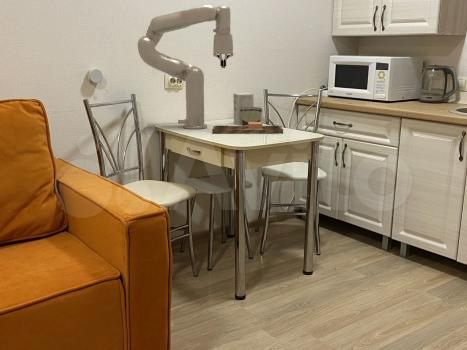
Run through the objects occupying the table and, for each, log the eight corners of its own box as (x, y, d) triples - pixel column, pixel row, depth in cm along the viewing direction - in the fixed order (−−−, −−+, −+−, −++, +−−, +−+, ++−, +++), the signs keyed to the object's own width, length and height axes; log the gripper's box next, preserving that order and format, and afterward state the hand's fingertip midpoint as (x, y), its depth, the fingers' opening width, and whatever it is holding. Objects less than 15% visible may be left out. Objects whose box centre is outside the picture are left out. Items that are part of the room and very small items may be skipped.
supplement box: (249, 122, 295) (249, 92, 291) (254, 124, 286) (254, 93, 282) (233, 122, 293) (233, 92, 289) (237, 125, 284) (237, 94, 280)
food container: (262, 125, 283) (263, 107, 281) (262, 126, 277) (262, 108, 275) (240, 124, 284) (240, 106, 282) (239, 126, 278) (239, 108, 276)
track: (212, 133, 255) (212, 129, 255) (213, 129, 267) (213, 125, 267) (283, 133, 255) (283, 129, 254) (280, 129, 267) (281, 125, 267)
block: (248, 132, 259) (248, 123, 258) (248, 130, 266) (248, 121, 265) (262, 132, 259) (262, 123, 258) (261, 130, 266) (261, 121, 265)
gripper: (208, 31, 261) (208, 68, 266) (237, 31, 261) (237, 68, 266) (209, 31, 269) (209, 67, 273) (237, 31, 269) (237, 67, 273)
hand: (223, 67), depth 269 cm, fingers closed
